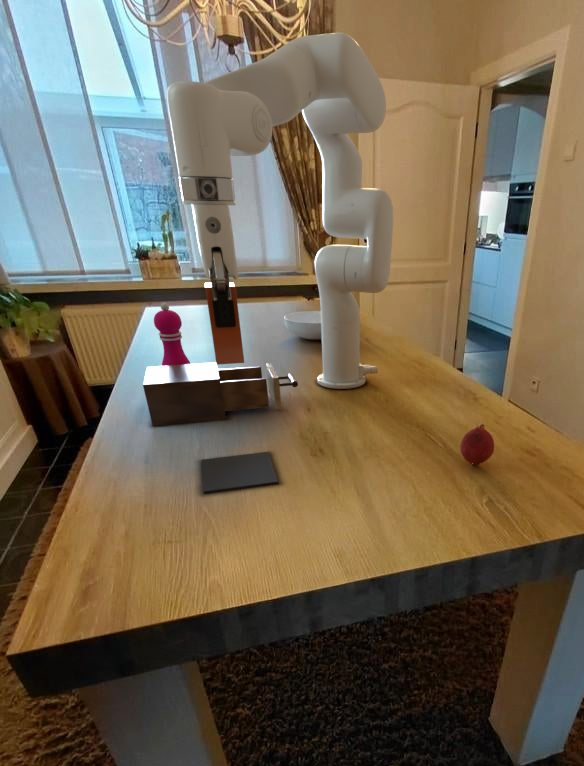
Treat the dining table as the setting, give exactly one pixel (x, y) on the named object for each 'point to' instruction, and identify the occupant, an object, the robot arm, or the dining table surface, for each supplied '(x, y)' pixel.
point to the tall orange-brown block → (225, 332)
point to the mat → (238, 472)
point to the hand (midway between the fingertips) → (225, 322)
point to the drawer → (251, 387)
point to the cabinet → (183, 393)
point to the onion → (477, 445)
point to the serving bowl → (305, 324)
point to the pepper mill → (170, 336)
